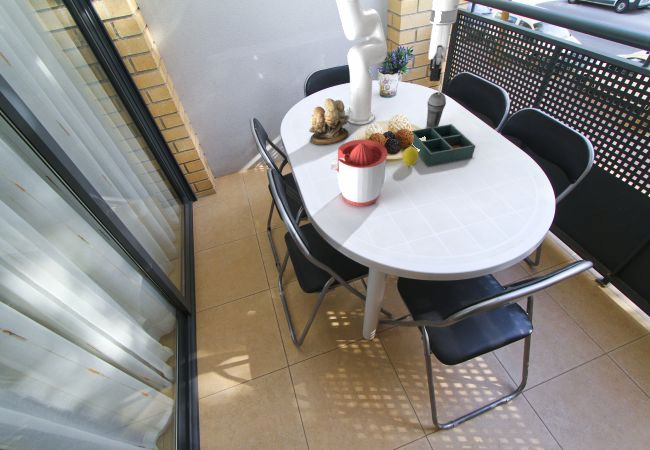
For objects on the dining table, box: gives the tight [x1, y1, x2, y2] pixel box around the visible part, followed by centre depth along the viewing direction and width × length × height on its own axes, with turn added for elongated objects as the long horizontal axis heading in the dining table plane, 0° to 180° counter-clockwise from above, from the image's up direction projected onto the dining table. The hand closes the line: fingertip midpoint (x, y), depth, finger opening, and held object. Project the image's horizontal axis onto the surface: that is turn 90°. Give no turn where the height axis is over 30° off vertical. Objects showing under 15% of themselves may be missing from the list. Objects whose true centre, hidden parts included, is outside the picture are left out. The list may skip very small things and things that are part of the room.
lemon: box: [402, 146, 419, 167], centre depth 115 cm, size 6×6×8 cm
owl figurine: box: [308, 98, 349, 146], centre depth 131 cm, size 18×12×17 cm, turn 116°
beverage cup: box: [426, 82, 447, 128], centre depth 129 cm, size 7×7×20 cm
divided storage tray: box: [410, 123, 476, 167], centre depth 122 cm, size 18×18×5 cm
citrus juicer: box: [330, 139, 389, 207], centre depth 101 cm, size 16×17×20 cm
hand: (434, 75), depth 107 cm, fingers open, 9 cm apart
